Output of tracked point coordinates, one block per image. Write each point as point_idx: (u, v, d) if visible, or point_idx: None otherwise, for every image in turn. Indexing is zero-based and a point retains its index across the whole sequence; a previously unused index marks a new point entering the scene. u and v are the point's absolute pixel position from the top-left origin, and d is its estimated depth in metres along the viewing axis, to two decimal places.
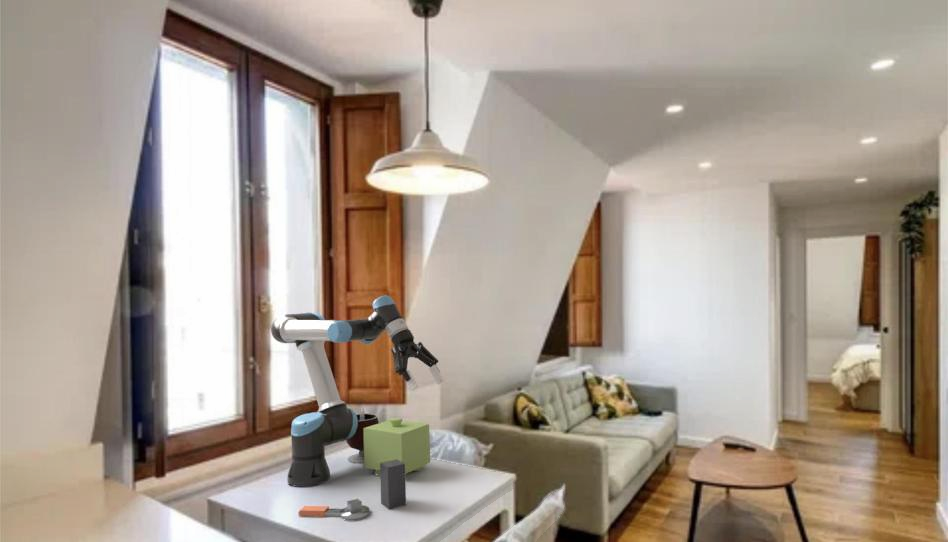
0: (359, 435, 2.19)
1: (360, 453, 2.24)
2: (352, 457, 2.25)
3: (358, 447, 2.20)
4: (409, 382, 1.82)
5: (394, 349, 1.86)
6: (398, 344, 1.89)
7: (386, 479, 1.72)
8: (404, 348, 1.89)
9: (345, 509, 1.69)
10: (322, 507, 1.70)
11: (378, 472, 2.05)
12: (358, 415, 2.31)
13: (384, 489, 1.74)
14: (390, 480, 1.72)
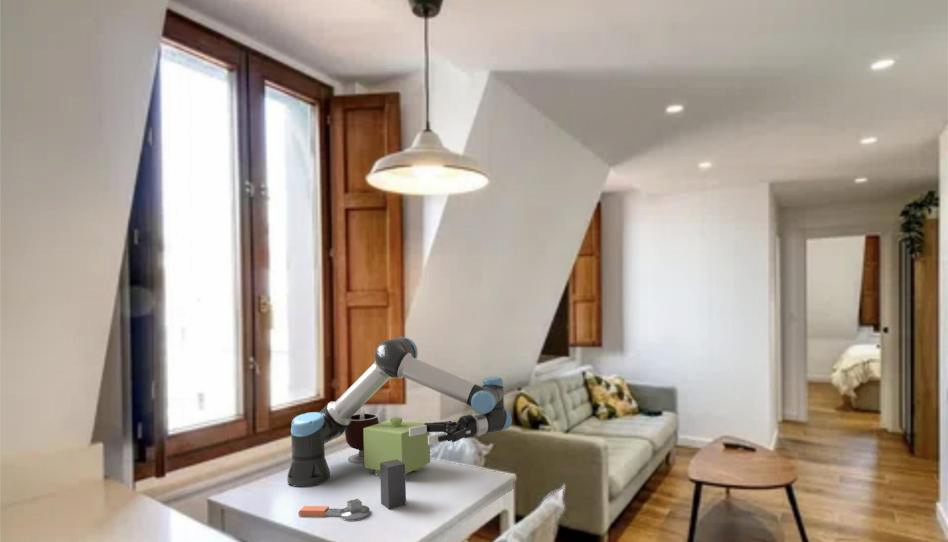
0: (359, 434, 2.19)
1: (360, 453, 2.24)
2: (352, 457, 2.25)
3: (358, 447, 2.20)
4: (436, 437, 1.77)
5: (468, 433, 1.84)
6: None
7: (386, 479, 1.72)
8: None
9: (345, 509, 1.69)
10: (322, 507, 1.70)
11: (378, 472, 2.05)
12: (358, 415, 2.31)
13: (384, 489, 1.74)
14: (390, 480, 1.72)
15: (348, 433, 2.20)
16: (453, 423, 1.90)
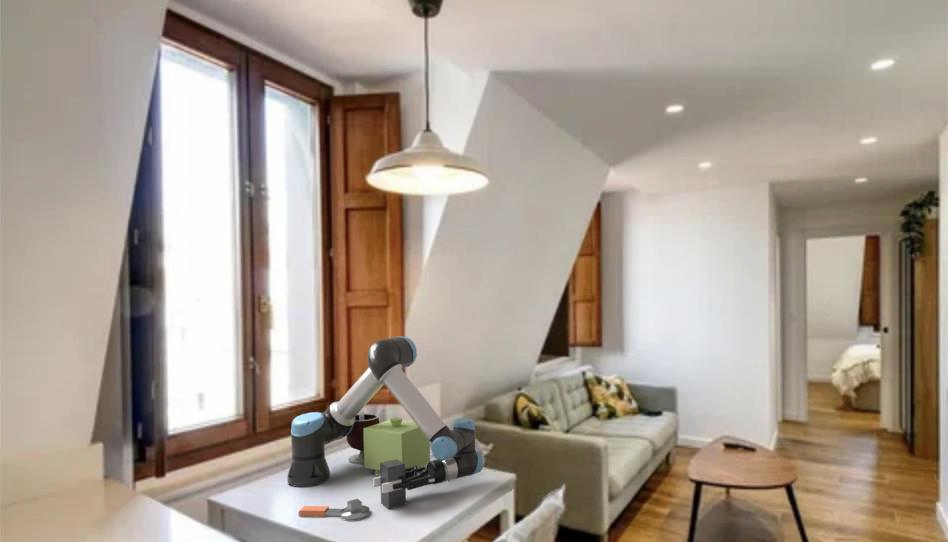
0: (362, 435, 2.18)
1: (361, 453, 2.23)
2: (352, 458, 2.24)
3: (361, 447, 2.19)
4: (390, 485, 1.71)
5: (431, 481, 1.76)
6: (436, 476, 1.80)
7: (386, 479, 1.72)
8: None
9: (345, 509, 1.69)
10: (322, 507, 1.70)
11: (378, 472, 2.05)
12: (357, 415, 2.30)
13: None
14: (390, 480, 1.72)
15: (350, 434, 2.19)
16: (422, 469, 1.82)
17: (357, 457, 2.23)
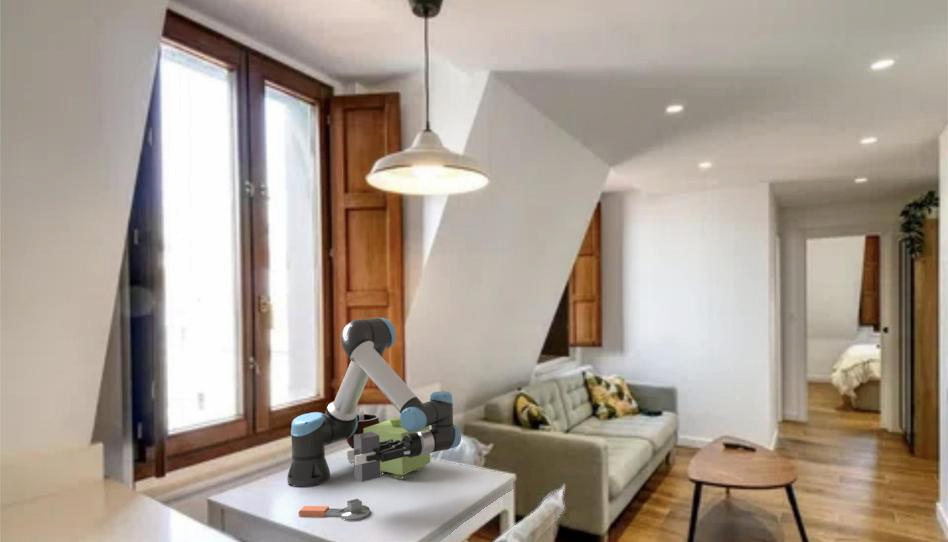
0: None
1: None
2: None
3: None
4: (364, 456, 1.66)
5: (407, 453, 1.71)
6: (411, 449, 1.75)
7: (360, 451, 1.67)
8: None
9: (345, 509, 1.69)
10: (322, 507, 1.70)
11: None
12: (357, 416, 2.30)
13: None
14: (364, 452, 1.67)
15: None
16: (397, 442, 1.77)
17: None
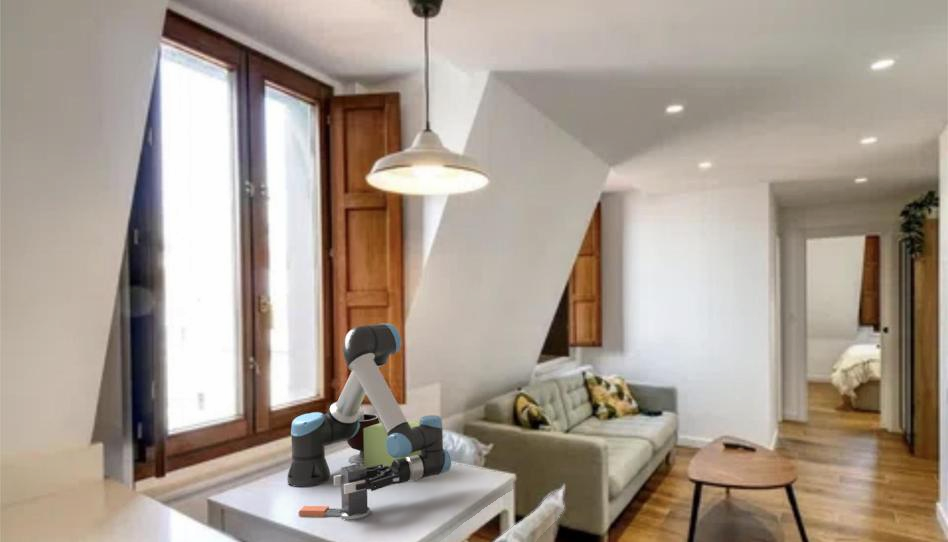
0: (362, 435, 2.18)
1: (361, 454, 2.23)
2: (352, 458, 2.24)
3: (361, 447, 2.19)
4: (353, 485, 1.63)
5: (396, 480, 1.69)
6: (399, 476, 1.73)
7: None
8: None
9: None
10: (322, 507, 1.70)
11: None
12: None
13: (344, 495, 1.67)
14: None
15: None
16: (385, 468, 1.75)
17: (357, 457, 2.23)
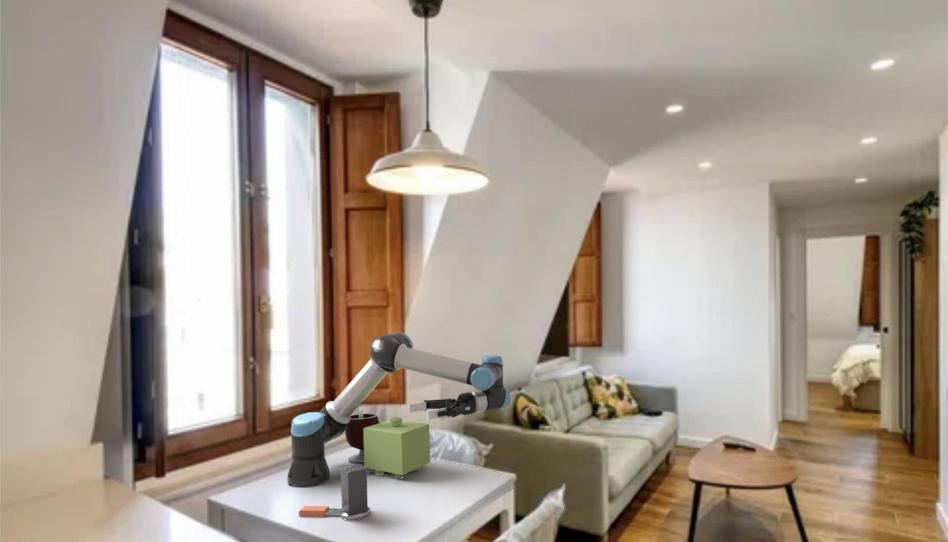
0: (362, 432, 2.19)
1: (361, 452, 2.23)
2: (352, 457, 2.24)
3: (360, 445, 2.20)
4: (435, 412, 1.77)
5: (468, 409, 1.84)
6: None
7: (346, 485, 1.65)
8: None
9: None
10: (322, 507, 1.70)
11: (378, 472, 2.05)
12: (356, 415, 2.31)
13: (345, 495, 1.67)
14: (350, 486, 1.65)
15: (350, 432, 2.20)
16: (452, 400, 1.90)
17: (357, 456, 2.23)
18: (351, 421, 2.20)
